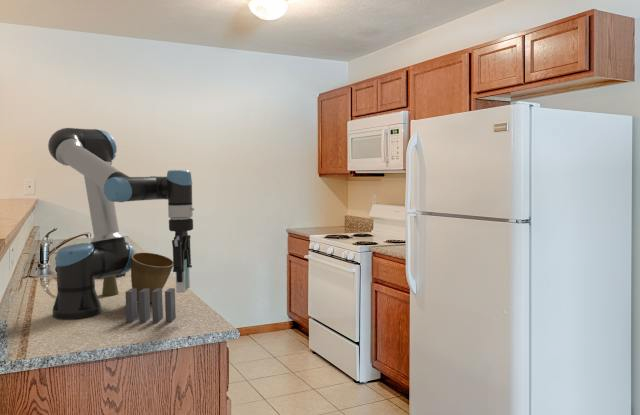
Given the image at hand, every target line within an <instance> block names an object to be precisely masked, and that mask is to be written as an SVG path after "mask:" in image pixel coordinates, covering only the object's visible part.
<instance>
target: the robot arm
mask: <svg viewBox="0 0 640 415" xmlns="http://www.w3.org/2000/svg"><path fill="white" fill-rule="evenodd" d="M47 147H48V151H49V154H50V156H51V157H52V158H53V159H54V161H57V162H58V163H59V164H61V165H63V166H68V167H70V168H72V169H74V170H75V171H77V172H78V173H79V174H81V175H82V176H83V179H84V184H85V190H86V196H87V202H88V208H89V214H90V219H91V220H90V221H91V226H92V232H93V238H92V239H91V241H90V242H84V243H83V242H82V243H75V244H71V245H67V246H63V247H61V248H59V250H57V251H56V253H55V255H56V256H55V266H56V269H55V270H56V289H57V294H56V298H55V301H54V304H53V306H52V317H53V318H55V319H56V320H57V319H58V320H75V319H76V320H77V319H83V318H88V317H92V316H96V315H98V314H101V313H102V303H101V301H100V299H99V296H98V294H97V291H96V282H95V281H96V280H101V279H104V278H106V277H111V276H118V275H120V274H124V273H128V272H129V271H131V260H132V255H133V254H135V251H134V250H135V249H134V247H133V246H132V244H130V242H128V241H126V238H125V236H124V235H123V234H121V232H120V230H119V224H118V218H117V217H118V216H117V212H116V206H115V203H126V202H136V201H138V202H140V201H152V200H153V201H156V200H167V201H168V203H167V207H168V209H167V210H168V212H167V213H168V218H169V220H168V229H169V231H170V232H175V233H174V236H173V239H172V240H171V243H172V261H173V267H172V273H175V293H178V292H182V293H186V291H185V271H184V259H187V285H188V289H190V288H191V281H190V280H191V279H190V268H191V269H192V267H193V265H192V258H191V256H192V255H191V234H189V233H188V232H190V231H192V230H194V219H193V214H194V212H193V211H195V208H194V207H193V178H192V173H191V171H190V170H188V169H186V170H185V169H183V170H182V169H181V170H179V169H175V170H173V169H171V170H168V171H166V172H167V173H166V174H167V175H166V176H155V175H154V176H153V175H152V176H129V175H127V174H125V173H124V172H122V171H120V170H119V169H118V168H116V167H114V165H113V160H115V158H116V156H117V152H118V149H117V144H116V141H115V139H114V137H113V136H112V135H111V133H109V132H108V131H106V130H102V129H101V130H100V129H96V128H94V129H93V128H75V127H63V128H61V129H58V130H56V131H55V132H54V133H53V134H52V135H51V136H50V138H49V140H48V144H47ZM112 165H113V166H112Z"/></svg>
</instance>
